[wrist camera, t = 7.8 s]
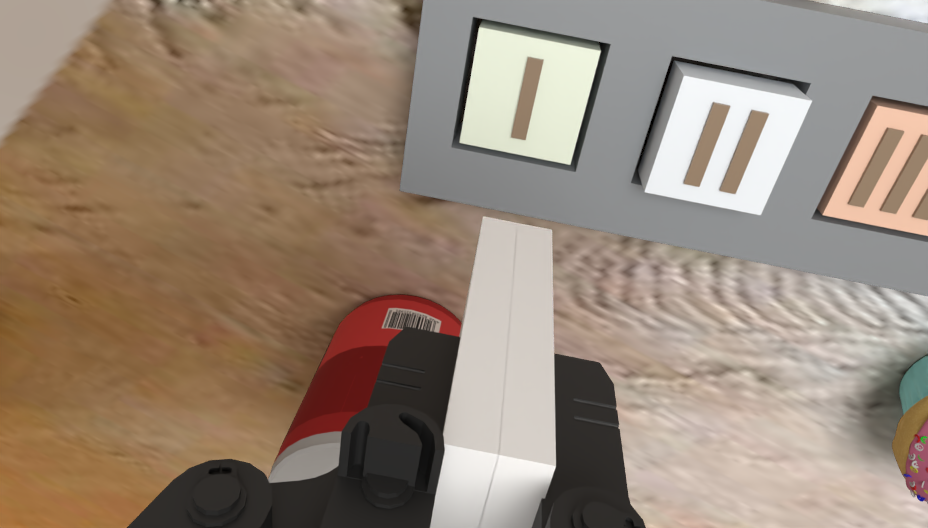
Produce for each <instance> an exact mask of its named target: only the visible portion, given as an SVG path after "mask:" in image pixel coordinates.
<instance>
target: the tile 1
mask: <svg viewBox="0 0 928 528" xmlns="http://www.w3.org/2000/svg"><path fill="white" fill-rule="evenodd" d="M600 53H601V50H600V46H599V43H598V41H593V40H588V39H583V38H578V37H573V36H568V35H563V34H558V33H553V32H548V31H543V30H537V29H532V28H527V27H522V26H517V25H512V24H507V23H502V22H497V21H492V20H487V19H483V20H482V22H481V24H480V26H479V31H478V37H477V43H476V49H475V55H474V60H473V66H472V72H471V78H470V84H469V90H468V96H467V101H466V107H465V113H464V119H463V125H462V131H461V137H460V142H459V143H463V144H468V145H473V146H478V147H483V148H488V149H493V150H498V151H503V152H508V153H513V154H518V155H523V156H528V157H533V158H538V159H543V160H548V161H553V162H558V163H563V164H568V165H570V164H571V160H572V157H573V153H574V149H575V146H576V142H577V138H578V134H579V131H580V127H581V123H582V119H583V116H584V112H585V108H586V105H587V101H588V97H589V93H590V90H591V86H592V82H593V79H594V75H595V71H596V67H597V64H598V60H599V56H600Z"/></svg>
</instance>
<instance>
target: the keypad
mask: <svg viewBox="0 0 928 528" xmlns="http://www.w3.org/2000/svg"><path fill="white" fill-rule="evenodd" d="M478 18H482V19H487V20H492V21H497V22H502V23H507V24H512V25H517V26H522V27H527V28H532V29H537V30H543V31H548V32H553V33H558V34H563V35H568V36H573V37H578V38H583V39H588V40H593V41H598V42H600V50H601V53H600V56H599V60H598V64H597V67H596V71H595V75H594V79H593V82H592V86H591V90H590V93H589V97H588V101H587V105H586V108H585V112H584V116H583V119H582V123H581V127H580V131H579V134H578V138H577V142H576V146H575V149H574V153H573V157H572V160H571V164H570V165H568V164H563V163H558V162H553V161H548V160H543V159H538V158H533V157H528V156H523V155H518V154H513V153H508V152H503V151H498V150H493V149H488V148H483V147H478V146H473V145H468V144H463V143H459V142H460V137H461V131H462V125H463V123H461V122H460V121H461V115H462V109H463V103H464V97H465V91H466V85H467V79H468V74H469V68H470V62H471V56H472V50H473V44H474V38H475V32H476V26H477V20H478ZM672 56H675V57H680V58H685V59H690V60H695V61H700V62H705V63H710V64H715V65H720V66H725V67H730V68H736V69H741V70H746V71H751V72H756V73H761V74H766V75H771V76H776V77H778V79H777V81H781V82H786V83H791V84H794V85H795V86H796V87H797V88H798V89H799V90H800V91H802V92H803V93H804V94H805V95H806V96H807V97H808V98H810V99H811V100H812V103H811V105H810V107H809V109H808V112H807V114H806V116H805V118H804V120H803V123H802V125H801V127H800V129H799V132H798V134H797V136H796V138H795V140H794V143H793V145H792V147H791V149H790V151H789V154H788V156H787V158H786V160H785V163H784V165H783V167H782V169H781V171H780V174H779V176H778V178H777V180H776V182H775V185H774V187H773V189H772V191H771V194H770V196H769V198H768V200H767V202H766V205H765V207H764V209H763V211H762V214H761V215H756V214H751V213H746V212H741V211H736V210H731V209H726V208H721V207H716V206H711V205H706V204H701V203H696V202H691V201H686V200H681V199H676V198H671V197H666V196H661V195H656V194H651V193H646V192H644V189H643V186H642V183H641V179H640V176H639V173H638V168H639V165H640V162H641V159H642V158H639V156H640V153H641V150H642V147H643V144H644V141H645V138H646V135H647V132H648V129H649V126H650V122H651V119H652V116H653V113H654V110H655V107H656V104H657V101H658V98H659V95H660V92H661V89H662V86H663V83H664V79H665V76H666V73H667V70H668V67H669V64H670V61H671V58H672ZM872 96H878V97H883V98H888V99H893V100H898V101H903V102H908V103H913V104H918V105H924V106H928V24H927V23H921V22H916V21H911V20H906V19H901V18H896V17H891V16H886V15H881V14H875V13H870V12H865V11H860V10H855V9H850V8H845V7H840V6H835V5H829V4H824V3H819V2H814V1H809V0H423V8H422V16H421V24H420V31H419V39H418V47H417V55H416V63H415V71H414V79H413V87H412V95H411V103H410V111H409V119H408V127H407V135H406V143H405V151H404V159H403V167H402V175H401V183H400V191H403V192H408V193H413V194H418V195H423V196H428V197H433V198H438V199H443V200H448V201H453V202H458V203H463V204H468V205H473V206H478V207H483V208H488V209H493V210H498V211H503V212H508V213H513V214H518V215H523V216H528V217H533V218H538V219H543V220H548V221H553V222H558V223H563V224H568V225H573V226H578V227H583V228H588V229H593V230H598V231H603V232H608V233H613V234H618V235H623V236H628V237H633V238H638V239H643V240H648V241H653V242H658V243H663V244H668V245H673V246H678V247H683V248H688V249H693V250H698V251H703V252H708V253H713V254H718V255H724V256H729V257H734V258H739V259H744V260H749V261H754V262H759V263H764V264H769V265H774V266H779V267H784V268H789V269H794V270H799V271H804V272H809V273H814V274H819V275H824V276H829V277H834V278H839V279H844V280H849V281H854V282H859V283H864V284H869V285H874V286H879V287H884V288H889V289H894V290H899V291H904V292H909V293H914V294H919V295H924V296H928V236H925V235H920V234H915V233H910V232H905V231H900V230H895V229H890V228H885V227H880V226H875V225H870V224H865V223H860V222H855V221H850V220H845V219H840V218H835V217H830V216H825V215H822V214H821V213H820V211H819V210H818V209H817V206H818V204H819V202H820V200H821V198H822V196H823V194H824V192H825V190H826V188H827V186H828V184H829V182H830V180H831V178H832V176H833V174H834V172H835V170H836V168H837V166H838V164H839V162H840V160H841V158H842V156H843V154H844V152H845V150H846V148H847V146H848V144H849V142H850V140H851V138H852V136H853V134H854V132H855V130H856V128H857V126H858V124H859V122H860V120H861V118H862V116H863V114H864V112H865V110H866V108H867V106H868V104H869V102H870V100H871V98H872Z"/></svg>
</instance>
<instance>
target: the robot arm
mask: <svg viewBox="0 0 928 528" xmlns="http://www.w3.org/2000/svg"><path fill="white" fill-rule="evenodd" d="M618 426H619V421H618V414H617V410H616V399H615V391H614V384H613V382H612V381H611V379H610V378H609V376H608V375H607V373H606V372H605V370H604V369H603V367H602V365H601V364H600V363H599V362H594V361H589V360H584V359H579V358H574V357H569V356H564V355H559V354H554V317H553V257H552V230H551V229H546V228H541V227H536V226H531V225H526V224H520V223H515V222H510V221H505V220H500V219H495V218H490V217H485V216H483V219H482V224H481V229H480V234H479V239H478V244H477V249H476V254H475V259H474V264H473V269H472V274H471V279H470V284H469V289H468V294H467V299H466V304H465V309H464V314H463V319H462V325H461V330H460V335H459V337H458V336H453V335H448V334H443V333H438V332H433V331H427V330H422V329H417V328H412V327H407V326H406V327H405V328H404V329H403V330H402V331H400V332H399V333H398V334H397V335H396V336H395V337H394V338H393V339H391V340H390V341H389V343H388V346H387V349H386V352H385V355H384V358H383V361H382V366H381V367H380V370H379V373H378V376H377V380H376V383H375V385H374V388H373V391H372V394H371V397H370V400H369V403H368V406H367V408H365V409H363V410H362V411H360V412H359V413H357V414H355V415H354V416H352V417H351V418H350V419H349V421H348V422H347V424H346V425H345V427H344V428H343V430H342V432H341V443H340V454H339V465H338V466H337V467H336V468H334V469H333V470H331V471H330V472H328V473H326V474H323V475H320V476H318V477H315V478H310V479H305V480H299V481H287V482H275V483H269V481H268V479H267V477H266V476H265V474H264V473H263V472H262V471H260V470H259V469H257V468H256V467H254V466H253V465H251V464H250V463H246V462H242V461H237V460H233V459H224V460H211V461H207V462H205V463H202V464H199V465H197V466H194V467H191V468H189V469H188V470H186V471H185V472H184V473H182V474H181V475H180V476H178V477H177V478H176V479H174V480H173V481H172V482H171V483H170V484H169V485H168V486H167V487H166V488H165V489H164V490H163V491H162V492H161V493H160V494H159V495H158V496H157V497H156V498H155V499H154V500H153V501H152V502H151V503H150V504H149V506H148V507H147V508H146V509H145V510H144V511H143V512H142V513H141V514H140V515H139V516H138V517H137V518H136V519H135V520H134V521H133V522H132V523H131V524H130V525H129V526H128V527H127V528H646V527H645V524H644V522H643V519H642V518H641V517H640V516H639V515H638V513H637V512H636V511H635V510H634V508H633V507H632V506H631V504H630V501H629V497H628V490H627V482H626V474H625V467H624V459H623V452H622V444H621V436H620V429H618Z"/></svg>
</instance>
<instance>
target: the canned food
mask: <svg viewBox="0 0 928 528" xmlns="http://www.w3.org/2000/svg"><path fill="white" fill-rule="evenodd" d="M461 325H462V323H461V322H460V321H459V320H458V319H457V318H456V317H455V316H454V315H453V314H452V313H451V312H450V311H448V310H447V309H445V308H444V307H442V306H441V305H439V304H436V303H434V302H432V301H430V300H427V299H424V298H420V297H417V296H409V295H387V296H382V297H378V298H375V299H372V300H370V301H367V302H365V303H363V304H362V305H360V306H359V307H357V308H356V309H354V310H353V311H352V312H351V313H350V314H348V315H347V316H346V318H345V319H344V320H343V321H342V322H341V323H340V324H339V326H338V328H337V330H336V331H335V333H334V335H333V338H332V340H331V342H330V344H329V346H328V348H327V350H326V352H325V354H324V357H323V359H322V361H321V363H320V365H319V367H318V369H317V371H316V374H315V376H314V378H313V380H312V382H311V384H310V386H309V388H308V390H307V393H306V395H305V397H304V399H303V401H302V403H301V405H300V407H299V409H298V412H297V414H296V416H295V418H294V420H293V422H292V424H291V426H290V429H289V431H288V433H287V435H286V437H285V439H284V441H283V443H282V445H281V448H280V450H279V453H278V455H277V457H276V460H275V462H274V464H273V466H272V470H271V474H270V476H269V479H268V481H269V483H275V482H287V481H299V480H305V479H310V478H315V477H318V476H320V475H323V474H326V473H328V472H330V471H331V470H333V469H334V468H336V467H337V466H338V465H339V454H340V443H341V432H342V430H343V428H344V427H345V425H346V424H347V422H348V421H349V419H350V418H351V417H352V416H354V415H355V414H357V413H359V412H360V411H362V410H363V409H365V408H367V406H368V403H369V400H370V397H371V394H372V391H373V388H374V385H375V383H376V380H377V376H378V373H379V370H380V367H381V366H382V361H383V358H384V355H385V352H386V349H387V346H388V343H389V341H390V340H391V339H393V338H394V337H395V336H396V335H397V334H398V333H399V332H400V331H402V330H403V329H404V328H405V327H406V326H407V327H412V328H417V329H422V330H427V331H433V332H438V333H443V334H448V335H453V336H458V337H459V335H460V330H461Z"/></svg>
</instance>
